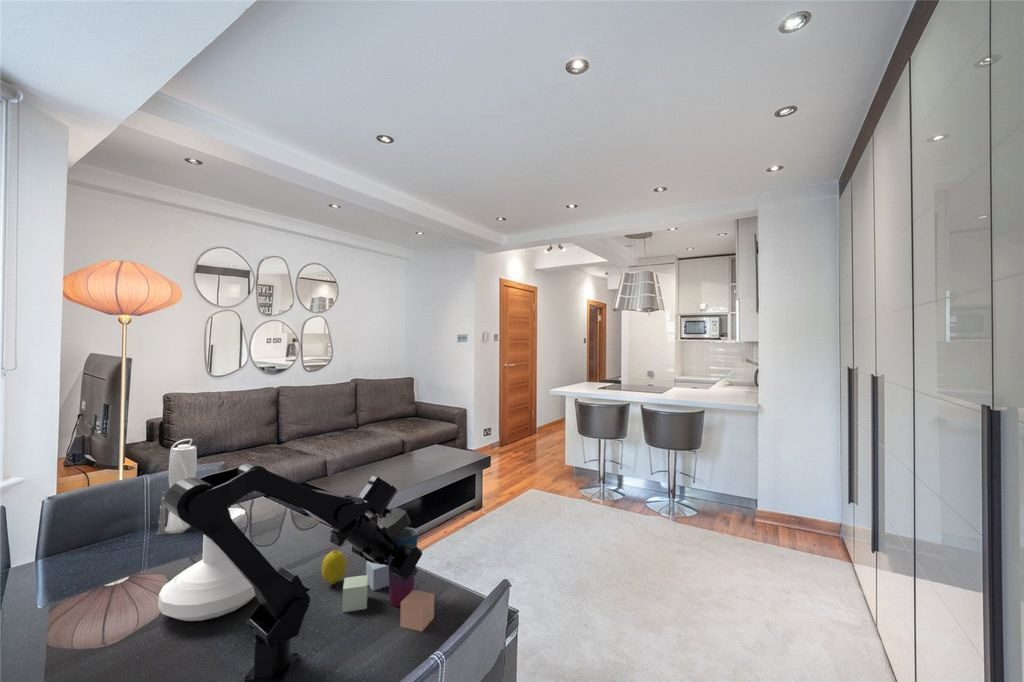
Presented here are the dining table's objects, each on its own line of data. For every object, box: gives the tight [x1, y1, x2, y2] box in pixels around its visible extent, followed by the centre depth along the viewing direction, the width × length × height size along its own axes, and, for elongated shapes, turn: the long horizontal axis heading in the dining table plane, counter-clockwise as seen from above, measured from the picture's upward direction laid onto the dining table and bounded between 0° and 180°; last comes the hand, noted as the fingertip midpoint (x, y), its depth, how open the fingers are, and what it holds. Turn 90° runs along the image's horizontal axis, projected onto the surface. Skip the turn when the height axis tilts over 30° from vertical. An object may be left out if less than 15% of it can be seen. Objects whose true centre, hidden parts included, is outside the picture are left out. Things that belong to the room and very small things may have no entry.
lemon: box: [321, 549, 347, 585], centre depth 105 cm, size 6×6×8 cm
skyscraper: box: [156, 438, 198, 536], centre depth 139 cm, size 8×8×28 cm
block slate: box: [365, 560, 389, 592], centre depth 106 cm, size 5×5×5 cm
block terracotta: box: [399, 589, 435, 633], centre depth 90 cm, size 5×5×5 cm
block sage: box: [341, 574, 369, 613], centre depth 96 cm, size 5×5×5 cm
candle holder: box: [157, 507, 256, 622], centre depth 97 cm, size 20×20×19 cm
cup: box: [388, 526, 419, 608], centre depth 98 cm, size 7×7×15 cm
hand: (407, 568), depth 99 cm, fingers closed on cup, 6 cm apart
